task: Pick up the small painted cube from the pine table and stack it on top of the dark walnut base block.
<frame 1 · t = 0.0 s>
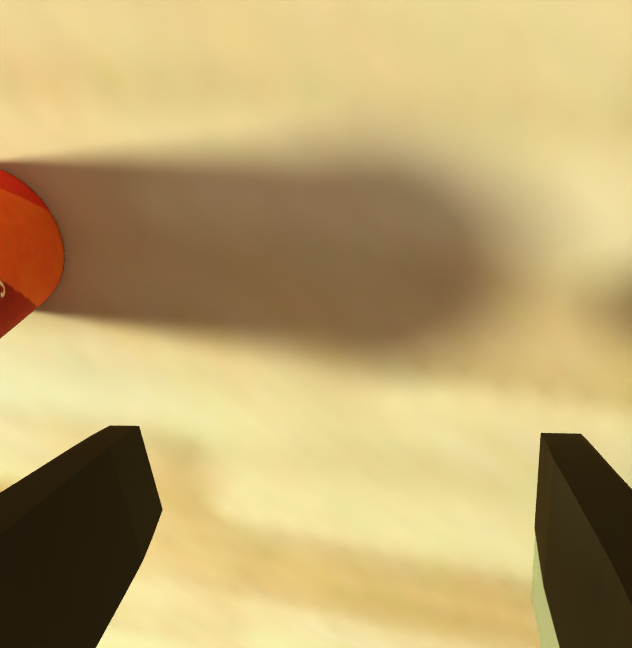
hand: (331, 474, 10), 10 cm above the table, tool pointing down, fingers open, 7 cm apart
cube: (601, 551, 23), on the table
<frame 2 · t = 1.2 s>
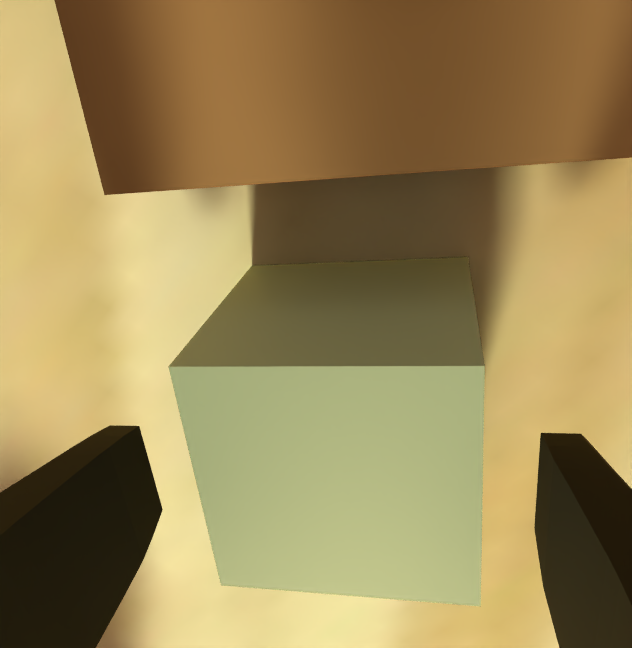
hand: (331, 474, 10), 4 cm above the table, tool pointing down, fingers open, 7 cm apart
cube: (364, 355, 15), on the table
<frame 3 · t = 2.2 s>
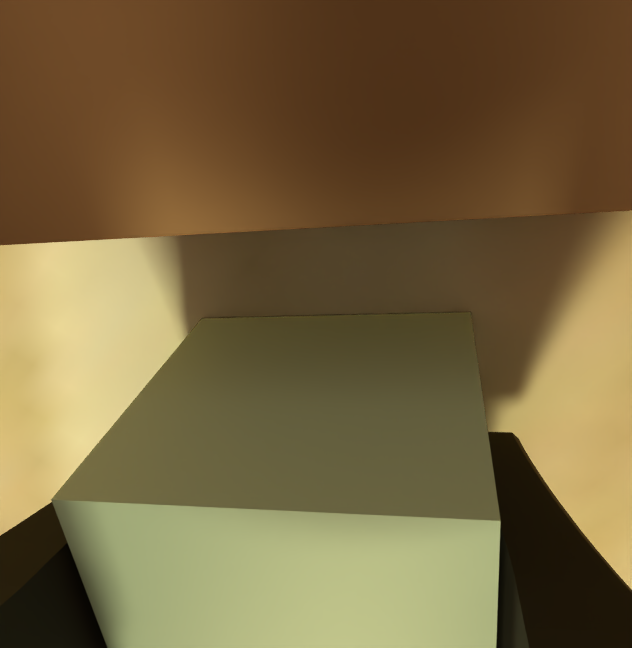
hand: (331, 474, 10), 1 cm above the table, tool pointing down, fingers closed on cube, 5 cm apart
cube: (341, 428, 12), on the table, touching gripper
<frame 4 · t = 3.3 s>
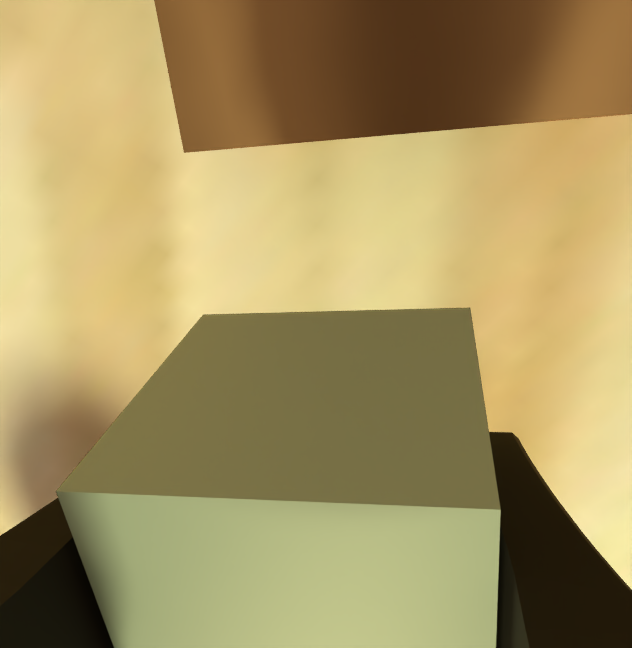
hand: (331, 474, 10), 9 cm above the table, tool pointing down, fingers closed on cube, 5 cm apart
cube: (342, 423, 12), point 7 cm above the table, touching gripper
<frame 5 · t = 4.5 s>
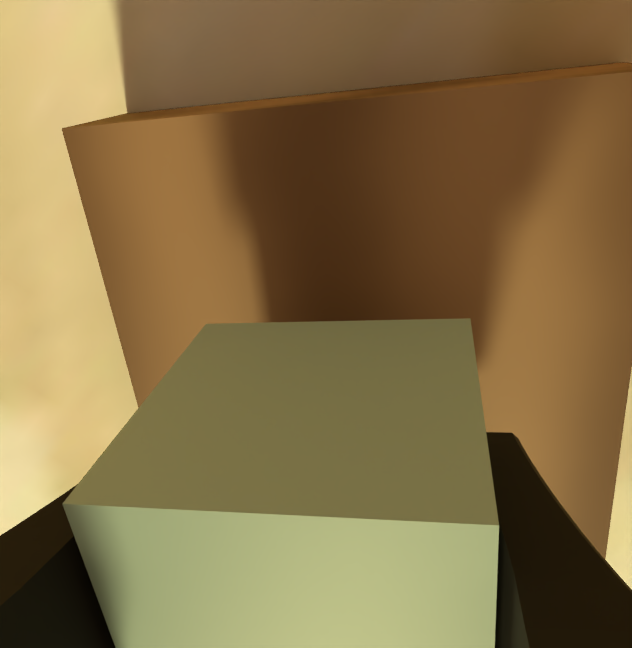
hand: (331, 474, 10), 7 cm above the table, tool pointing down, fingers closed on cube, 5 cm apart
cube: (343, 431, 12), point 5 cm above the table, touching gripper
base block: (369, 316, 17), on the table
when the fingers open (5 cm above the table, at t = 5.2 s): cube stays where it is, resting on base block.
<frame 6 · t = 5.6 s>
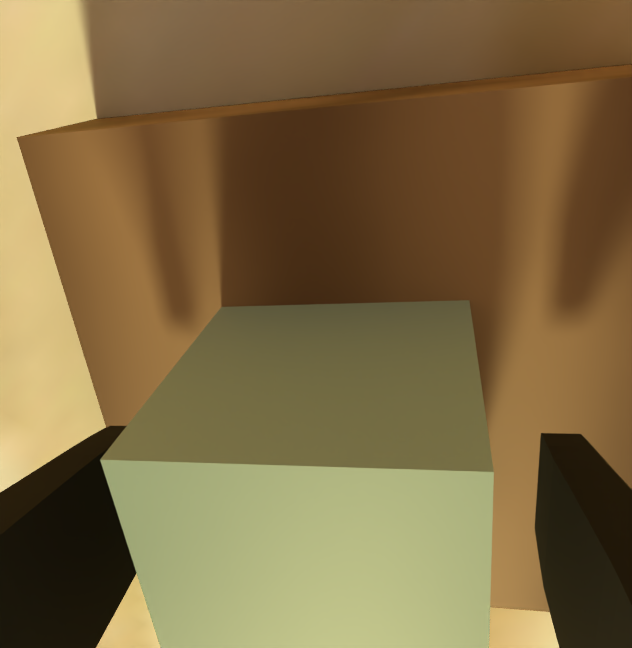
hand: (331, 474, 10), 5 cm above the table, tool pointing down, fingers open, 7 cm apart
cube: (350, 409, 13), point 3 cm above the table, touching base block
base block: (363, 338, 15), on the table
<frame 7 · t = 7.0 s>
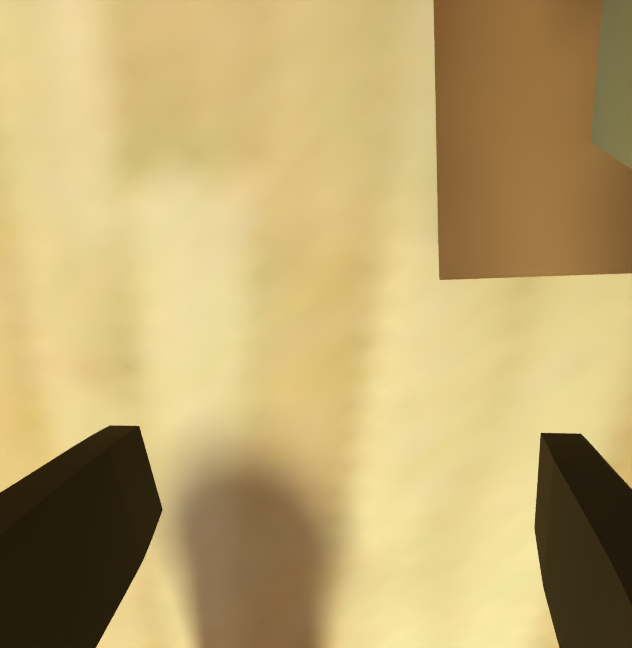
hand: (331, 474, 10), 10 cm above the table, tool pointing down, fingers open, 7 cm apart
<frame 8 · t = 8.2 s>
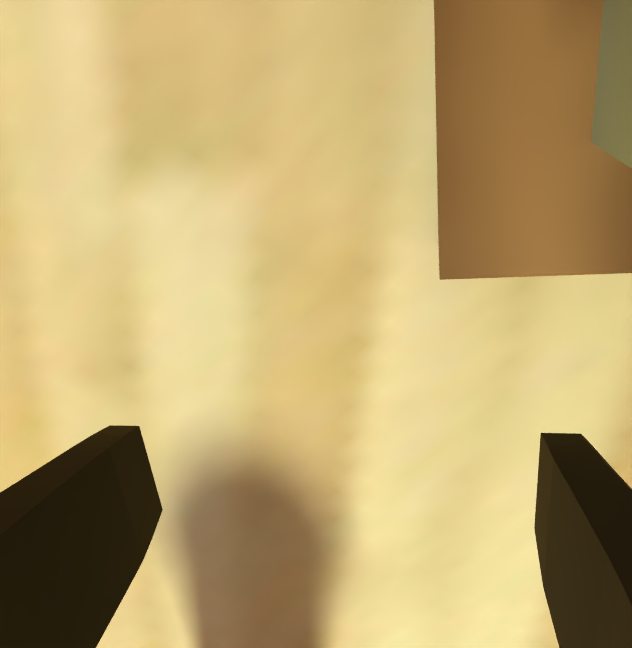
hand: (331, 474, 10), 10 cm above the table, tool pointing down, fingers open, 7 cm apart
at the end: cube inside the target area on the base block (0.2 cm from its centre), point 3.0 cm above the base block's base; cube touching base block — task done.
